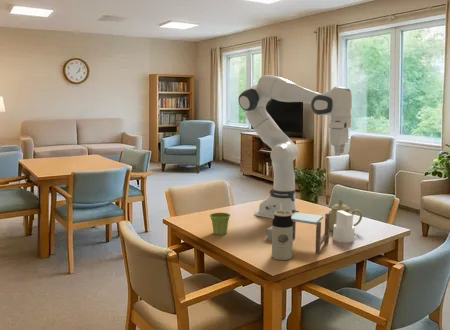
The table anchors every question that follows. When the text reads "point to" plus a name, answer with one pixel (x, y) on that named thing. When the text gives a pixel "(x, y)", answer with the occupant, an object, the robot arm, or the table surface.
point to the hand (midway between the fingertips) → (339, 154)
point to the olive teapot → (334, 213)
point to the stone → (269, 233)
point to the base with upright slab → (343, 227)
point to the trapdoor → (306, 218)
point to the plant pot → (220, 222)
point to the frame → (317, 232)
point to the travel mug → (282, 235)
